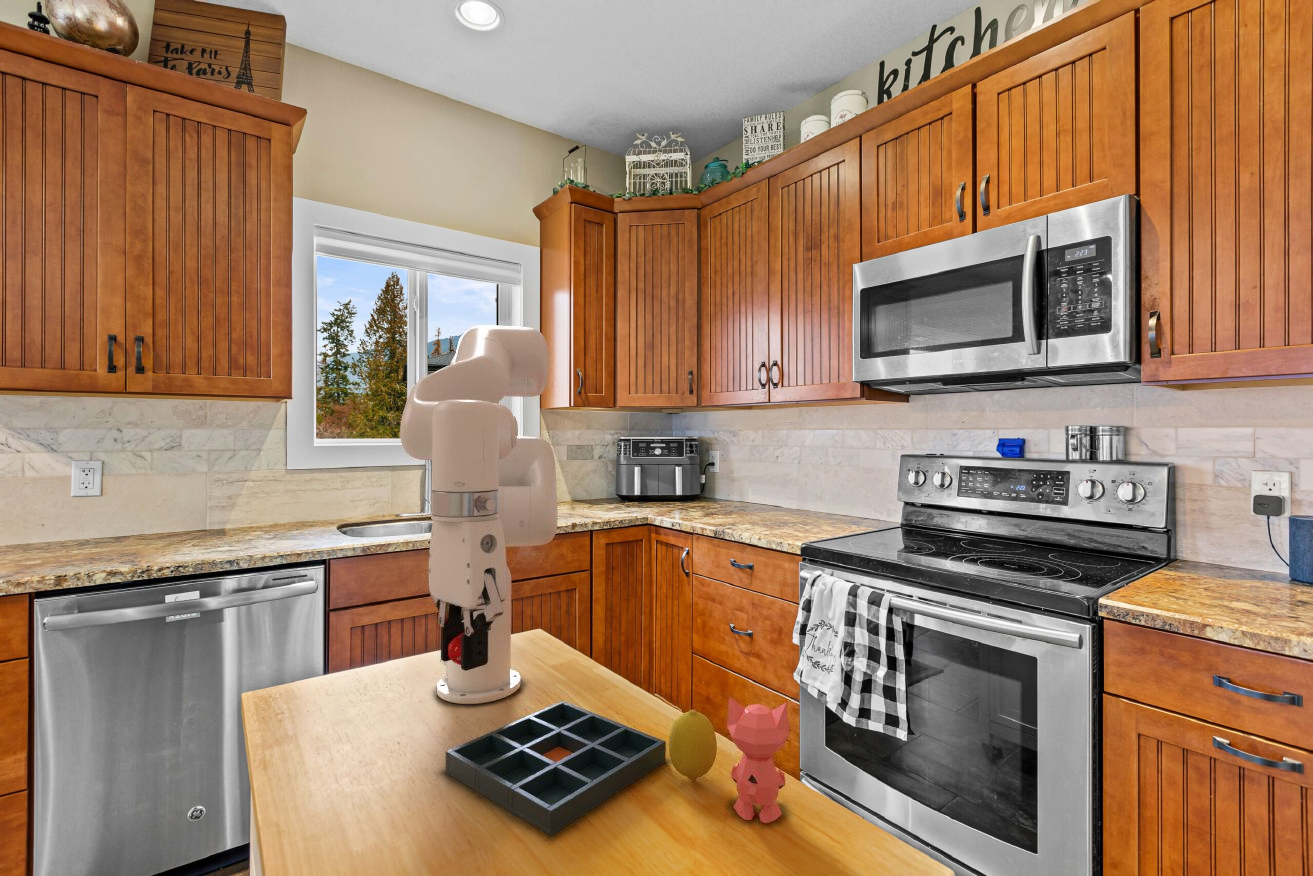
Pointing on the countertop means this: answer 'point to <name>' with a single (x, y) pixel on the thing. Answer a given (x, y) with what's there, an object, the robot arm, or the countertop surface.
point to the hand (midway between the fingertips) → (464, 661)
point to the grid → (555, 764)
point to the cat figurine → (757, 757)
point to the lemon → (692, 744)
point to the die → (455, 649)
